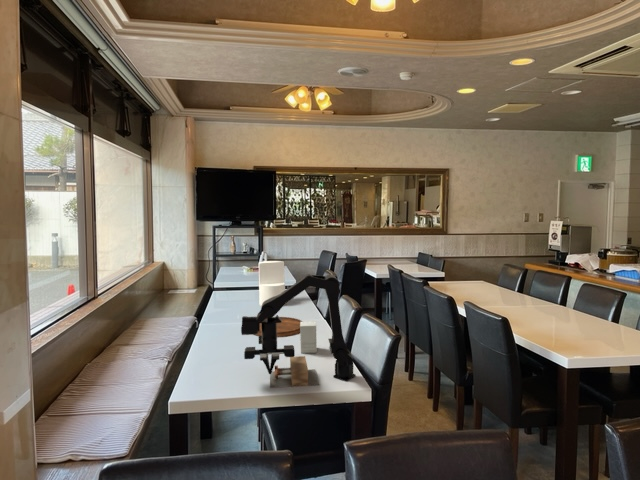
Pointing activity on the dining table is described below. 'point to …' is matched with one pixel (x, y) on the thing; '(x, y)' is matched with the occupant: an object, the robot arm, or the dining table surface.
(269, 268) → the cylinder
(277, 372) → the pin
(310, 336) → the supplement box
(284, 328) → the cutting board
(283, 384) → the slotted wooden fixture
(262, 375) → the dining table surface
